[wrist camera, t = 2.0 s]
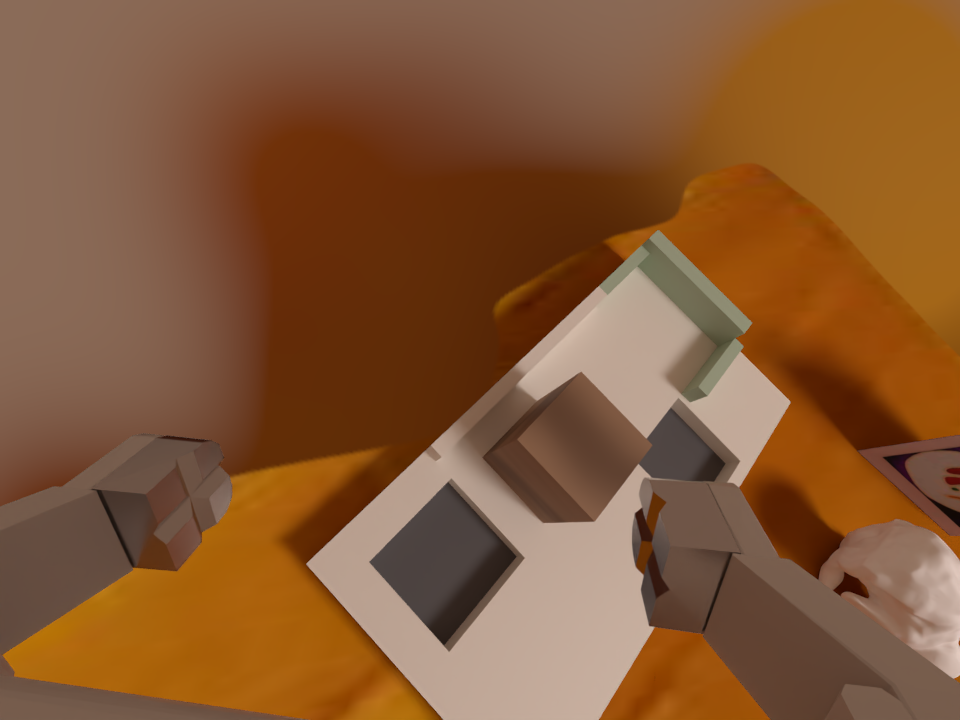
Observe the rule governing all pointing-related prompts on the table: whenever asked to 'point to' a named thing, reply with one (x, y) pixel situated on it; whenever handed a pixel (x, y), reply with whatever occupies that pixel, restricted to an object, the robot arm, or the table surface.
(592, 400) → the walnut block
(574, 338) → the box
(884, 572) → the white animal figurine
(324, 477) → the table surface
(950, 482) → the greeting card
